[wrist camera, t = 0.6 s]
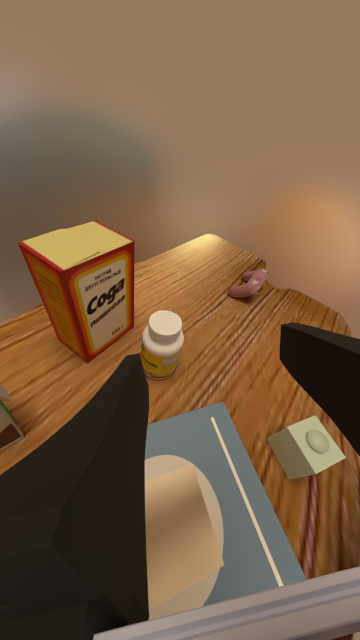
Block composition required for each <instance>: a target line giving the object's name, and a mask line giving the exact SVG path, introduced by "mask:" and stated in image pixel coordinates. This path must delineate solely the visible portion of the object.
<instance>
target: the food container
mask: <svg viewBox="0 0 360 640" xmlns="http://www.w3.org/2000/svg"><path fill="white" fill-rule="evenodd" d="M0 398H1V399H4V400H6V401H10V397H9V395H8V393H7V391H6V390H5V389H4V388H3V386H2V385H1V384H0ZM24 437H25V435H24V433H23V431H22V429H21V427H20V426H19V424H18V423H17V422H16V420H15V419H14V418H13V416H12V415H11V414H10V412H9V411H8V410H7V408H6V407H5V406H4V404H3V403H2V402H1V400H0V451H2V450H3V449H5V448H7V447H9V446H10V445H12V444H14V443H16V442H17V441H19V440H21V439H23V438H24Z"/></svg>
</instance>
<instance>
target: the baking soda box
mask: <svg viewBox="0 0 360 640" xmlns="http://www.w3.org/2000/svg"><path fill="white" fill-rule="evenodd" d="M18 244H19V247H20V249H21V252H22V254H23V256H24V259H25V261H26V264H27V266H28V268H29V271H30V273H31V275H32V278H33V280H34V282H35V285H36V287H37V290H38V292H39V294H40V297H41V299H42V301H43V304H44V306H45V309H46V311H47V313H48V316H49V318H50V320H51V323H52V325H53V327H54V330H55V332H56V335H57V337H58V339H59V340H60V341H61V342H62V343H64V344H65V345H66V346H67V347H68V348H70V349H71V350H72V351H73V352H74V353H76V354H77V355H78V356H79V357H80V358H82V359H83V360H84V361H85V362H86V363H89V362H90V361H91V360H93V359H94V358H95V357H96V356H98V355H99V354H100V353H101V352H103V351H104V350H105V349H106V348H108V347H109V346H110V345H112V344H113V343H114V342H115V341H117V340H118V339H119V338H120V337H122V336H123V335H124V334H125V333H127V332H128V331H129V330H130V329H132V328H133V327H134V240H131V239H130V238H127V237H126V236H124V235H122V234H120V233H118V232H116V231H115V230H113V229H111V228H109V227H107V226H105V225H103V224H101V223H99V222H97V221H94V222H90V223H86V224H83V225H79V226H76V227H72V228H69V229H59V230H56V231H53V232H50V233H47V234H44V235H41V236H38V237H35V238H32V239H29V240H25V241H23V242H19V243H18Z"/></svg>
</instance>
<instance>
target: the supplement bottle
mask: <svg viewBox="0 0 360 640" xmlns="http://www.w3.org/2000/svg"><path fill="white" fill-rule="evenodd" d="M181 328H182V321H181V319H180V317H179V316H178V315H177V314H175V313H173V312H171V311H166V310H162V311H157V312H155V313H154V314H152V315H151V317H150V319H149V325H148V326H147V327H146V328H145V329H144V331H143V335H142V351H141V362H142V366H143V369H144V372H145V374H146V375H147V376H149V377H150V378H153V379H157V380H161V379H166V378H168V377H169V376H171V375H172V374H173V373H174V371H175V369H176V367H177V363H178V360H179V356H180V353H181V349H182V346H183V342H184V336H183V332H182V330H181Z"/></svg>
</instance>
